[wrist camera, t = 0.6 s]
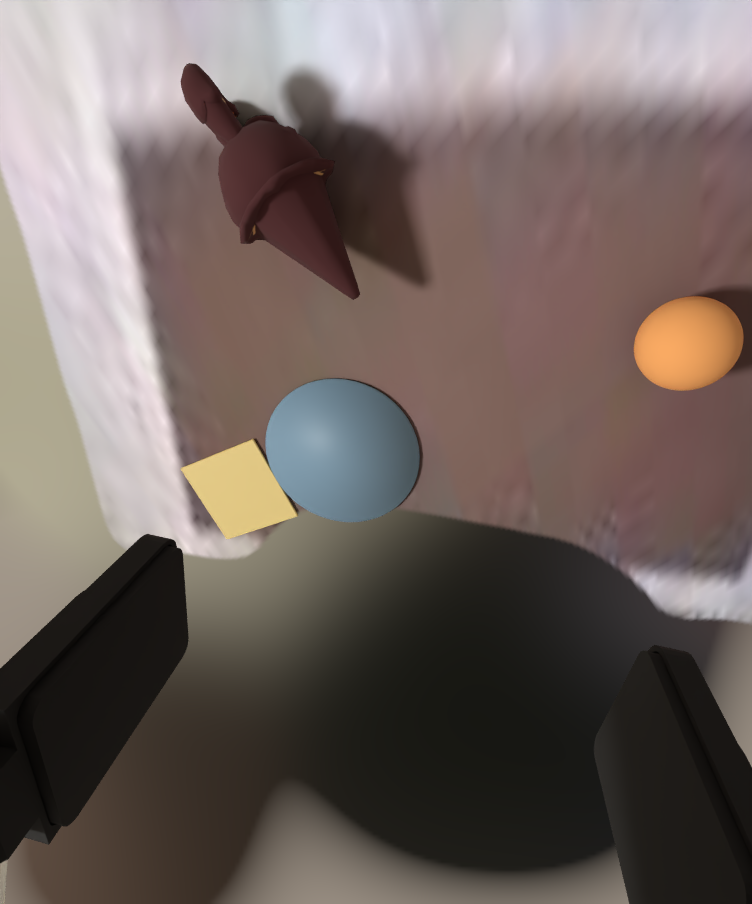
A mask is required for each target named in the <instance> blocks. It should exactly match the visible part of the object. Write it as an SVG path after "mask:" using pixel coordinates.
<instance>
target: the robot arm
mask: <svg viewBox="0 0 752 904" xmlns="http://www.w3.org/2000/svg"><path fill="white" fill-rule="evenodd" d="M187 645H188V625H187V609H186V595H185V580H184V565H183V553H182V550H181V549H180V548H177V546H176V542H175V541H174V540H172V539H168V538H163V537H159V536H154V535H150V534H146V535H143V536H142V537H141V538H140V539H139V540H137V541H136V542H135V543H134V544H133V545H132V546H131V547H130V548H129V549H128V550H127V551H126V552H125V553H124V554H123V555H122V556H121V557H120V558H119V559H118V560H117V561H116V562H114V563H113V564H112V565H111V566H110V567H109V568H108V569H107V570H106V571H105V572H104V573H103V574H102V575H101V576H100V577H99V578H98V579H97V580H96V581H95V582H94V583H92V584H91V586H89V587H88V588H87V589H86V590H85V591H83V592H82V593H80V594H79V595H78V596H76V597H75V598H74V599H73V600H72V601H71V602H70V603H69V604H68V605H67V606H66V607H65V608H64V609H63V610H62V611H61V612H59V613H58V614H57V615H56V617H54V618H53V619H52V620H51V621H50V622H49V623H48V624H47V625H46V626H45V627H44V628H43V629H41V630H40V632H38V633H37V635H35V636H34V637H33V638H32V639H31V640H30V641H29V642H28V643H27V644H26V645H25V646H24V647H23V648H21V650H19V651H18V652H17V653H16V654H15V655H14V656H13V657H12V658H11V659H10V660H9V661H8V662H7V663H6V664H5V665H4V666H3V667H2V668H0V904H4V901H5V887H6V872H7V860H8V859H9V857H10V856H11V855H12V853H13V852H14V851H15V849H16V848H17V846H18V845H19V844H20V842H21V841H22V839H23V838H24V837H25V838H28V839H32V840H35V841H38V842H42V843H45V844H50V842H51V841H52V839H53V838H54V836H55V835H56V833H57V832H58V830H59V829H60V828H61V826H68V825H70V824H71V823H72V822H73V821H74V820H75V819H76V817H77V816H78V815H79V813H80V812H81V810H82V808H83V807H84V806H85V804H86V803H87V801H88V800H89V798H90V797H91V795H92V794H93V792H94V790H95V789H96V787H97V786H98V784H99V783H100V781H101V780H102V778H103V777H104V775H105V774H106V772H107V771H108V769H109V768H110V766H111V765H112V763H113V762H114V760H115V759H116V757H117V756H118V754H119V753H120V751H121V750H122V748H123V747H124V745H125V744H126V742H127V741H128V739H129V738H130V736H131V734H132V733H133V731H134V730H135V728H136V727H137V725H138V724H139V722H140V721H141V719H142V718H143V716H144V715H145V713H146V712H147V710H148V709H149V707H150V706H151V704H152V702H153V701H154V700H155V698H156V696H157V695H158V693H159V692H160V691H161V689H162V688H163V686H164V685H165V683H166V681H167V680H168V678H169V677H170V675H171V674H172V672H173V671H174V669H175V668H176V666H177V665H178V663H179V662H180V660H181V659H182V657H183V655H184V653H185V651H186V648H187ZM594 755H595V760H596V764H597V769H598V773H599V777H600V781H601V786H602V790H603V794H604V798H605V803H606V806H607V811H608V815H609V819H610V824H611V828H612V832H613V836H614V840H615V845H616V849H617V853H618V858H619V862H620V866H621V870H622V874H623V879H624V883H625V887H626V891H627V896H628V900H629V904H752V767H751V765H750V763H749V761H748V759H747V757H746V756H745V754H744V752H743V751H742V749H741V748H740V746H739V745H738V743H737V741H736V739H735V737H734V735H733V733H732V731H731V730H730V728H729V726H728V724H727V722H726V720H725V718H724V716H723V714H722V712H721V710H720V709H719V706H718V704H717V703H716V701H715V699H714V697H713V695H712V693H711V691H710V689H709V687H708V685H707V683H706V681H705V679H704V677H703V676H702V674H701V672H700V670H699V668H698V666H697V664H696V662H695V660H694V658H693V657H692V656H691V654H689V653H688V652H685V651H680V650H676V649H671V648H667V647H662V646H657V645H654V646H652V647H651V648H650V649H649V650H648V651H641V652H640V653H639V655H638V657H637V659H636V661H635V663H634V664H633V666H632V668H631V670H630V672H629V674H628V676H627V678H626V680H625V682H624V684H623V686H622V688H621V689H620V692H619V693H618V695H617V697H616V699H615V701H614V703H613V705H612V707H611V709H610V711H609V712H608V715H607V716H606V718H605V720H604V722H603V724H602V726H601V728H600V730H599V732H598V734H597V736H596V738H595V743H594Z"/></svg>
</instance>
